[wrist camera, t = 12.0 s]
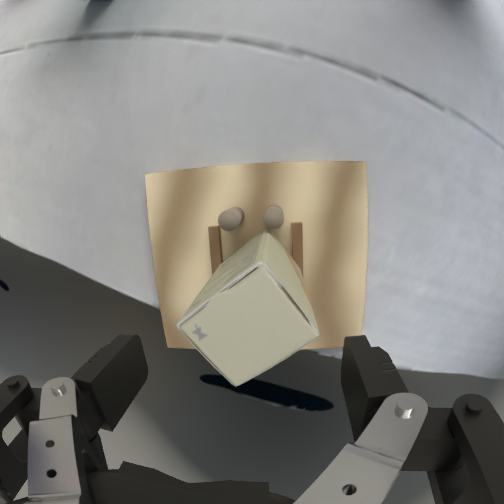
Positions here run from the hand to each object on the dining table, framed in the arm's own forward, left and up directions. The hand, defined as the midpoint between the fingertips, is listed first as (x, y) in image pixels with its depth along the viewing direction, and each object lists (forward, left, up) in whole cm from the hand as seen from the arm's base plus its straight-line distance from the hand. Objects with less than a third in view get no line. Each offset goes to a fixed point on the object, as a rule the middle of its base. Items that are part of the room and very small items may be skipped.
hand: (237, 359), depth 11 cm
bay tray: (0, 0, -15) cm, 15 cm away
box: (0, 0, -13) cm, 13 cm away
